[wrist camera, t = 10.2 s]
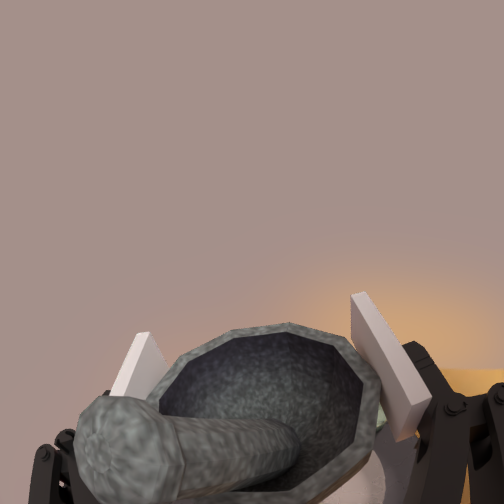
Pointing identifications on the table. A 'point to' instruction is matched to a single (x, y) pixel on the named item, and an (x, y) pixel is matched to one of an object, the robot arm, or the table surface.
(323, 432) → the mortar and pestle
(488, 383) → the table surface
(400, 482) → the base
